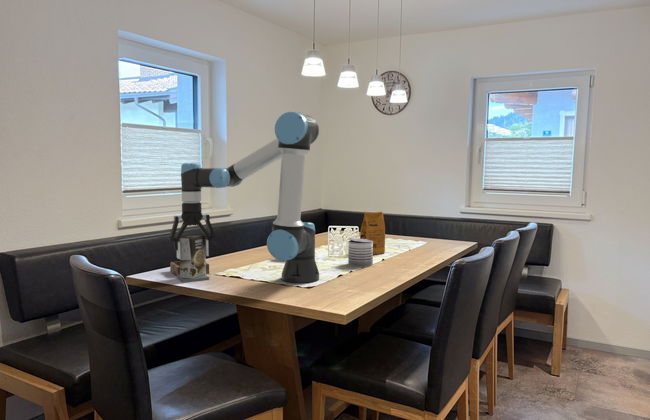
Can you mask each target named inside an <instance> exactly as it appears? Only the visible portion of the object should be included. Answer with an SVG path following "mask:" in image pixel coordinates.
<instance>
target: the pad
mask: <svg viewBox="0 0 650 420" xmlns="http://www.w3.org/2000/svg"><path fill="white" fill-rule="evenodd" d="M176 277H177V279H179V280H180V281H181V282H183V283H192V282H193V283H194V282H199V281H209V280H210V276H208V275H207V274H205V275H202V276H199V277H196V278H193V279H190V278H181V277H180V275H177V276H176Z"/></svg>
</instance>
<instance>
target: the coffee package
mask: <svg viewBox="0 0 650 420" xmlns="http://www.w3.org/2000/svg"><path fill="white" fill-rule="evenodd" d="M363 215H364V216H363V220H362V223H361V227H360V233H359V239H367V240H372V241H373V255H382V254H385V253H386V247H385V246H386V224H385V218H384V212H383V211H376V212H370V211H364V213H363Z"/></svg>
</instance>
